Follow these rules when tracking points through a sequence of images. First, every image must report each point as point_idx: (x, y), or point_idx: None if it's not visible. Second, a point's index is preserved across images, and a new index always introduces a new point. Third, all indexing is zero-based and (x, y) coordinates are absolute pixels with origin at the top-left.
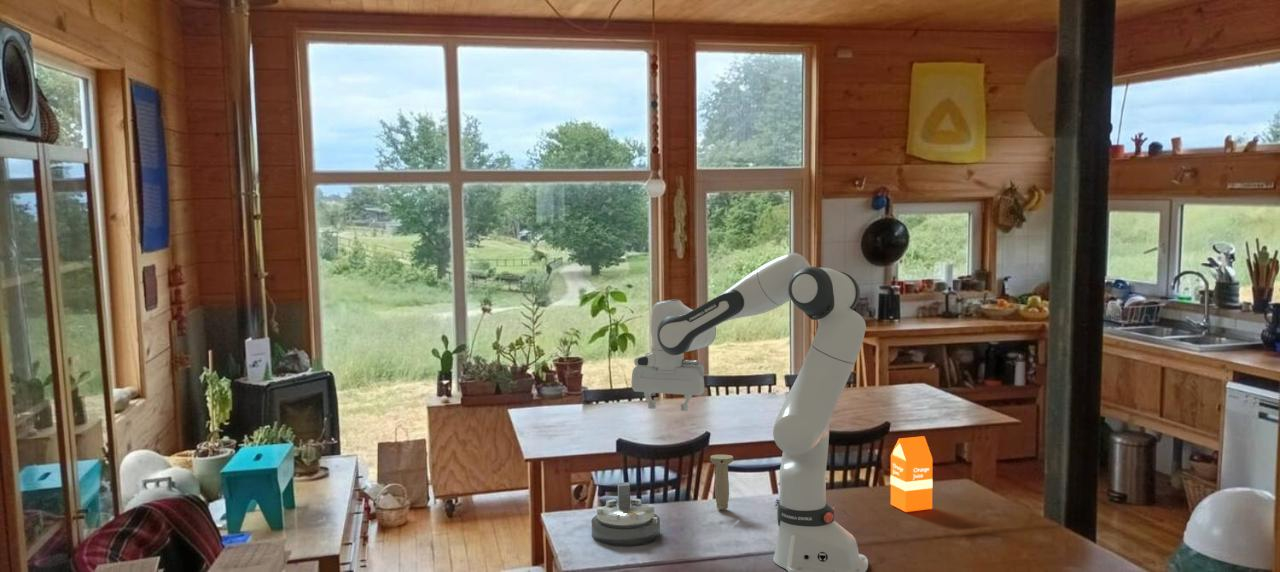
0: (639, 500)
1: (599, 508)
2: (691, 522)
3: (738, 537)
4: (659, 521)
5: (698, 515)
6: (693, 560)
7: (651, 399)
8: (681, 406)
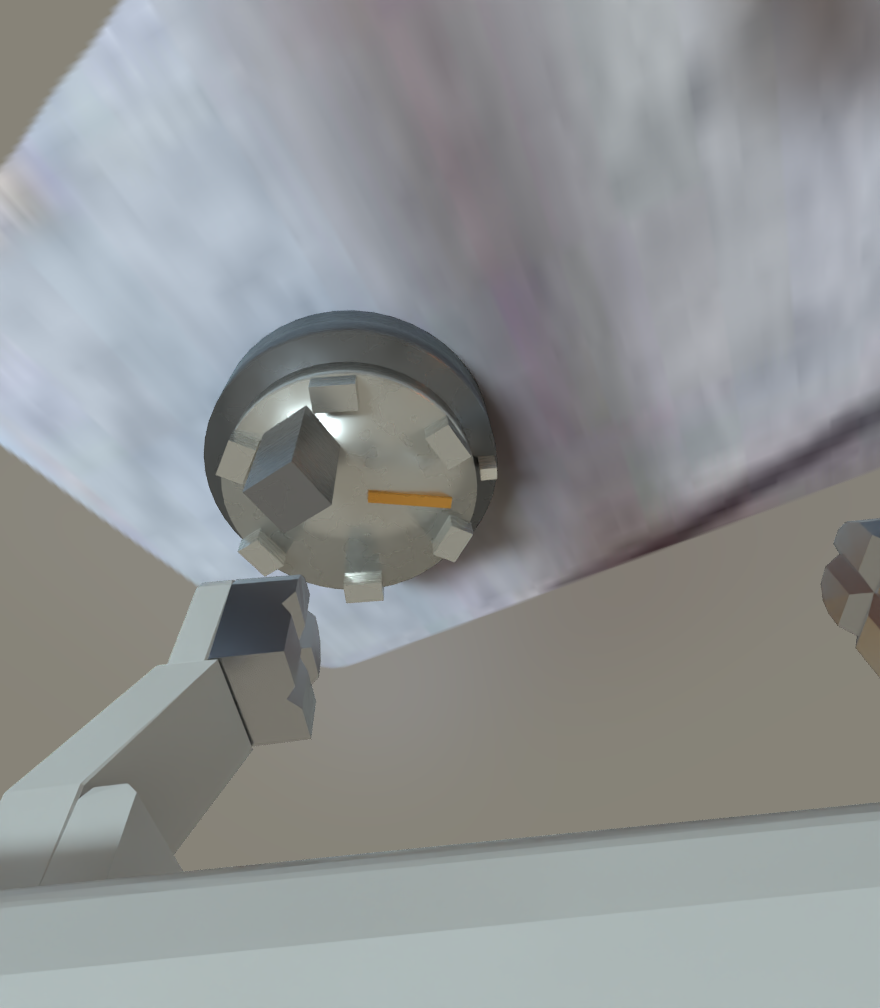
0: (356, 402)
1: (263, 563)
2: (550, 171)
3: (802, 277)
4: (491, 430)
5: (549, 27)
6: (670, 539)
7: (188, 706)
8: (876, 651)
